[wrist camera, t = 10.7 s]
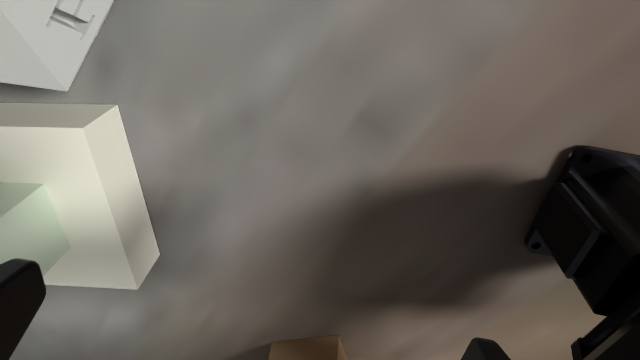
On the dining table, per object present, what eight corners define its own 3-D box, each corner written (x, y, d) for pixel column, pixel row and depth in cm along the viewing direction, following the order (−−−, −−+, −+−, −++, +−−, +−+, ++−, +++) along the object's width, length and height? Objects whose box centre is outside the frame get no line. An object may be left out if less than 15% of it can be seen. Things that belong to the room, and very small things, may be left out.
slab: (117, 104, 20) (82, 127, 18) (160, 254, 26) (137, 289, 23) (-64, 101, 21) (-121, 123, 19) (13, 247, 26) (-25, 280, 24)
